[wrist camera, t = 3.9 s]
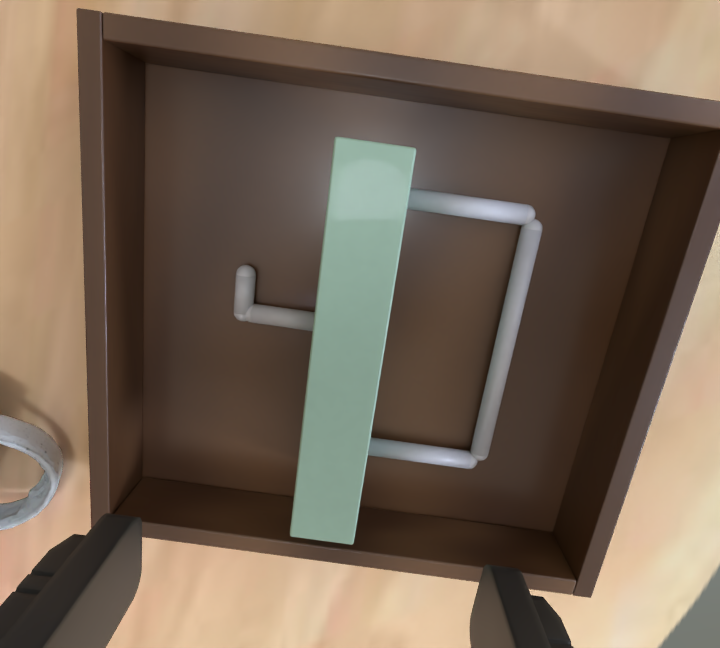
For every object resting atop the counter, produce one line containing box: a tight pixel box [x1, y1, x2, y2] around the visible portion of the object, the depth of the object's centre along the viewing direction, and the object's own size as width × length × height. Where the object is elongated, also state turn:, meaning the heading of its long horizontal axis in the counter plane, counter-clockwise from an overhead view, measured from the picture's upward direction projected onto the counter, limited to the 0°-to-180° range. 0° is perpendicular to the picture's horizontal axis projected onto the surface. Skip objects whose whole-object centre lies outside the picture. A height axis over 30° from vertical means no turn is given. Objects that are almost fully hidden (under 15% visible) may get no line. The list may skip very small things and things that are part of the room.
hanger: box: [234, 137, 542, 545], centre depth 18 cm, size 12×14×5 cm
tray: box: [77, 8, 720, 598], centre depth 19 cm, size 22×20×4 cm
